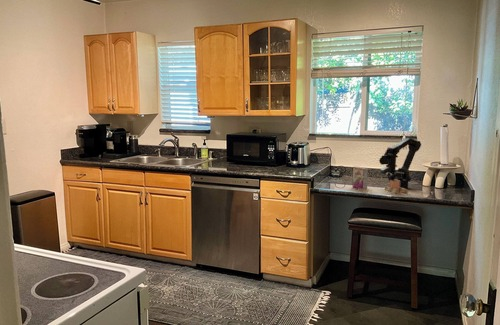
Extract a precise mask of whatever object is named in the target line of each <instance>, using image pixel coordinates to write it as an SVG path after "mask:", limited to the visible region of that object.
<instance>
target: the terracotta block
mask: <svg viewBox="0 0 500 325" xmlns="http://www.w3.org/2000/svg"><path fill="white" fill-rule="evenodd" d="M399 184H400V180H397V179H394V180H390V183H389V185H388V187H391V188H394V189H397V190H399Z"/></svg>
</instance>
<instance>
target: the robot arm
mask: <svg viewBox="0 0 500 325" xmlns="http://www.w3.org/2000/svg"><path fill="white" fill-rule="evenodd" d="M405 147H408V152H407V154H406V157H405V159H404V161H403V164H402V166H401V167H398V165H397V164H396V163H397V158H399V156H398V154H399V153H400V150H403V149H404V148H405ZM421 147H422V143H421V141H420V140H417V139H413V138H411V137H405V138H404V139H403V140H400V141H399V142H398V143H396V144H394V145H390V146H388V147H387V149H386V150H385V152H384V153H383V154H382V155H381V156H380V158H379V160H378V161H379V164H380V165H381V166H382V165H385V167H382V168H380V169H379V171H380V174H382V175H385V176H386V177H387V178H388V182H389V184H390V180H398V181H400V183H399V187H401V188H404V189H407V190H409V182H411V181H412V177H411V176H410V170H409V169H410V168H411V164H412V161H413V159H414V157H415V155H416V153H417V152H418V151H419V150H420V149H421ZM397 167H398V169H397ZM396 169H397V170H396ZM396 178H397V179H396Z"/></svg>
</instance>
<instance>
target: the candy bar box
mask: <svg viewBox="0 0 500 325" xmlns="http://www.w3.org/2000/svg"><path fill="white" fill-rule="evenodd" d="M352 169H353V170H352V187H353V188H355V189H360V190H363V189H364V190H365V189H368V177H369V175H368V173H369V168H368V167H362V166H353V167H352Z"/></svg>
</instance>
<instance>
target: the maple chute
mask: <svg viewBox="0 0 500 325" xmlns="http://www.w3.org/2000/svg"><path fill="white" fill-rule="evenodd" d="M384 190H385V191H387V192H390V193H393V194H396V195H400V193H402V194H405V195H408V194H409V189H404V188H401V187H399V190H397V189H394V188H391V187H389V185H385V186H384Z"/></svg>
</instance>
